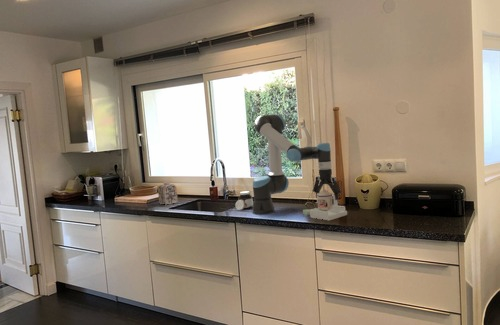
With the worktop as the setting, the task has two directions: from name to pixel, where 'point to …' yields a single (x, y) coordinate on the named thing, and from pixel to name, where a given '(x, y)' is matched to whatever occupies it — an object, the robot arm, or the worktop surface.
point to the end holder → (329, 213)
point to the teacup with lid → (325, 200)
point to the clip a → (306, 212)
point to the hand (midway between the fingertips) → (327, 204)
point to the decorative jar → (167, 193)
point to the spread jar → (244, 201)
